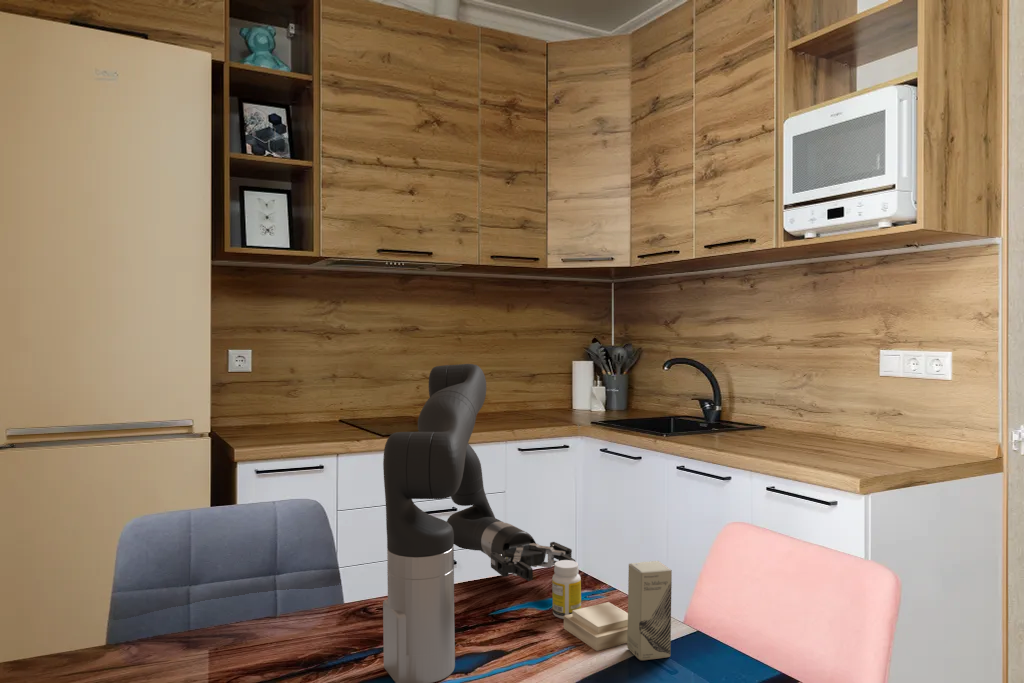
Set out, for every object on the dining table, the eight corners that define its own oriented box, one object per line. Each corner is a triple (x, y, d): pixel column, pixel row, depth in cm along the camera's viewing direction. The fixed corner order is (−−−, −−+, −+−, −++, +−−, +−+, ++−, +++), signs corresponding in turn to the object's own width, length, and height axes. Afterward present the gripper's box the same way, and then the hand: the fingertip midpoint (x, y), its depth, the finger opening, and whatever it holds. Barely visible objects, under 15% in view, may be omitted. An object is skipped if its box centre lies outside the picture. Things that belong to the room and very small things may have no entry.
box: (639, 662, 101) (639, 572, 101) (626, 648, 105) (626, 562, 105) (673, 657, 102) (673, 569, 102) (658, 644, 106) (658, 559, 106)
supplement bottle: (581, 608, 120) (581, 559, 120) (581, 620, 115) (581, 569, 115) (552, 607, 121) (552, 558, 120) (551, 619, 116) (551, 568, 116)
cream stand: (596, 651, 104) (596, 630, 104) (563, 628, 112) (563, 609, 112) (645, 637, 109) (645, 618, 109) (609, 616, 117) (609, 598, 117)
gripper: (474, 531, 132) (516, 555, 118) (539, 520, 139) (587, 542, 125) (474, 571, 132) (516, 600, 118) (539, 558, 139) (587, 584, 125)
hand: (552, 570), depth 121 cm, fingers open, 8 cm apart
